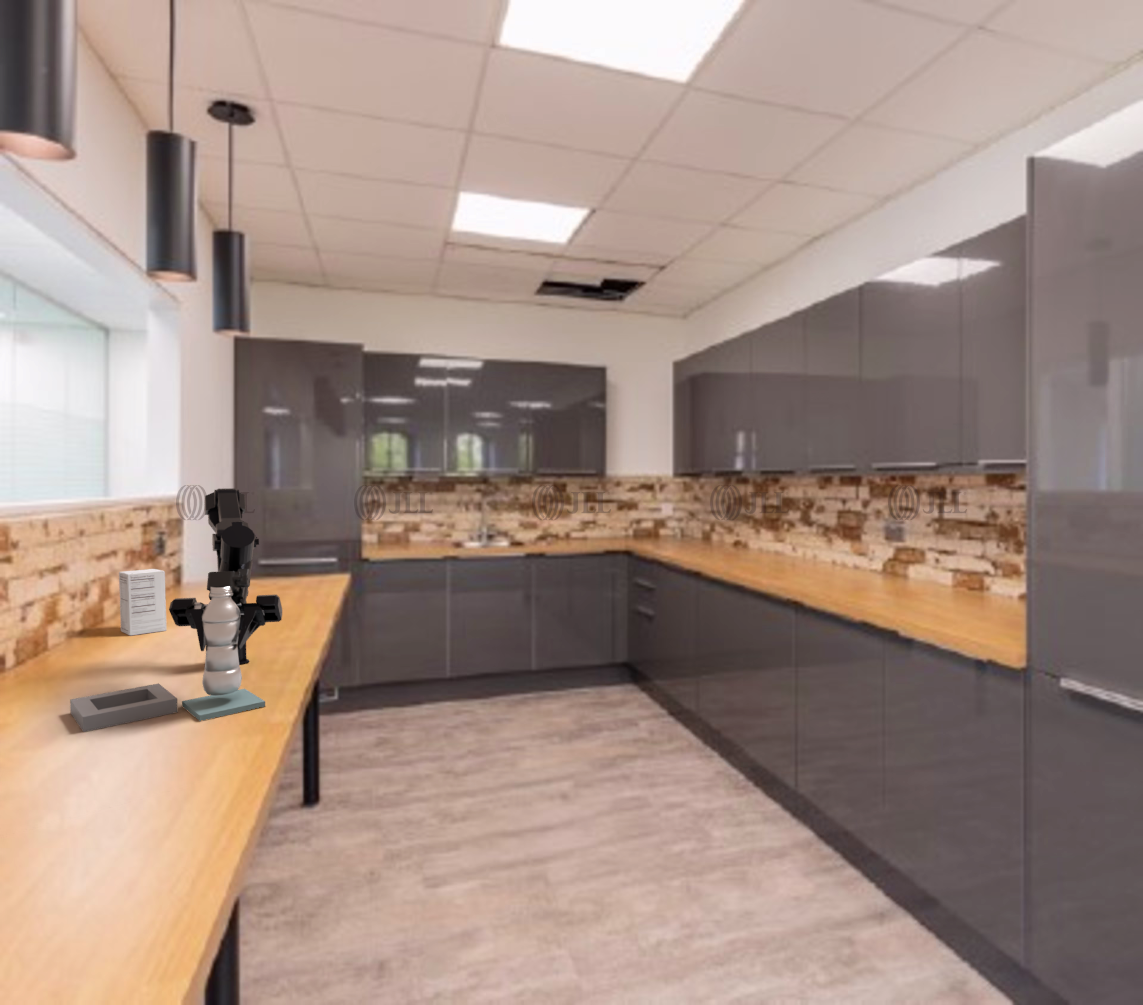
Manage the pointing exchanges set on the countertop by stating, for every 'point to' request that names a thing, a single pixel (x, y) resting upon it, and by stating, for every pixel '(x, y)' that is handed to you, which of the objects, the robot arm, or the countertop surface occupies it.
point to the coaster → (222, 704)
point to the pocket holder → (122, 706)
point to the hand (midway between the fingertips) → (220, 649)
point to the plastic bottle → (221, 643)
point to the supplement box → (142, 601)
